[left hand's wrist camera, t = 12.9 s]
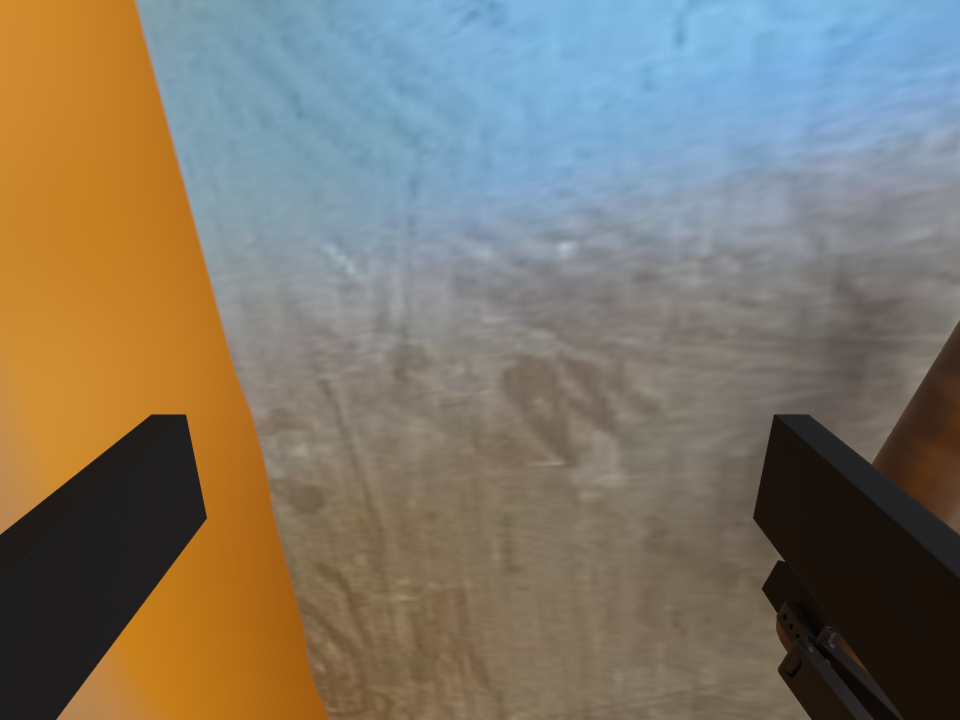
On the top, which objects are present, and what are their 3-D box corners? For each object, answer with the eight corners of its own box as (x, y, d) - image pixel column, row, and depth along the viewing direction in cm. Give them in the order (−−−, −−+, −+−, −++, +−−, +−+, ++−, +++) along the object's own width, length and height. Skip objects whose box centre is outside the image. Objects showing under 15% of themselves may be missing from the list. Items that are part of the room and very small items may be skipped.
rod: (943, 284, 33) (1069, 322, 26) (1054, 317, 34) (1206, 362, 27) (756, 603, 42) (812, 696, 35) (847, 623, 43) (921, 719, 36)
